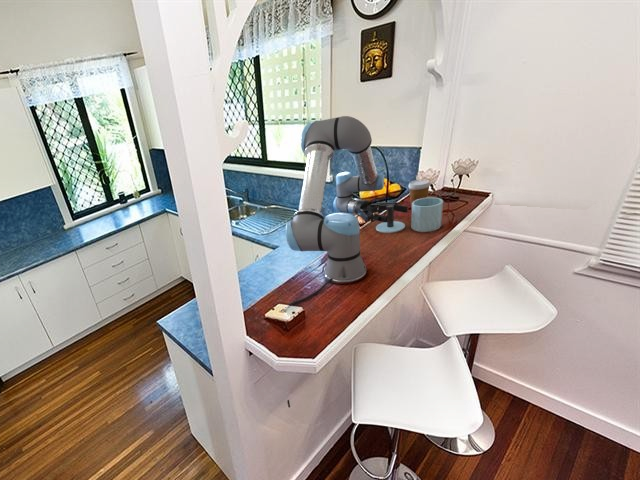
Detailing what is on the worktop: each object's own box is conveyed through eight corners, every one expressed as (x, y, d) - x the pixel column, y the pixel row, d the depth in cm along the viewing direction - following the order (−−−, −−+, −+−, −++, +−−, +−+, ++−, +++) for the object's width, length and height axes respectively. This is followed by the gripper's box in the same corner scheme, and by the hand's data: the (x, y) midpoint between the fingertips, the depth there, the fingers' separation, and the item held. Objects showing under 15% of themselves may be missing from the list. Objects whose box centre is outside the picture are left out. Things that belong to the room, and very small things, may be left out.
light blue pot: (429, 234, 145) (430, 208, 139) (405, 229, 154) (406, 204, 149) (446, 225, 149) (449, 199, 143) (422, 220, 158) (424, 196, 152)
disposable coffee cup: (424, 201, 176) (426, 178, 170) (431, 207, 168) (433, 182, 162) (405, 205, 178) (405, 181, 172) (411, 211, 170) (411, 186, 164)
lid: (391, 236, 152) (392, 212, 146) (370, 230, 162) (369, 208, 156) (411, 226, 156) (411, 203, 150) (388, 221, 166) (388, 199, 160)
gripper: (377, 206, 175) (415, 213, 158) (341, 223, 167) (377, 232, 150) (377, 191, 171) (416, 197, 154) (340, 208, 164) (377, 215, 146)
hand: (397, 214), depth 152 cm, fingers open, 12 cm apart
